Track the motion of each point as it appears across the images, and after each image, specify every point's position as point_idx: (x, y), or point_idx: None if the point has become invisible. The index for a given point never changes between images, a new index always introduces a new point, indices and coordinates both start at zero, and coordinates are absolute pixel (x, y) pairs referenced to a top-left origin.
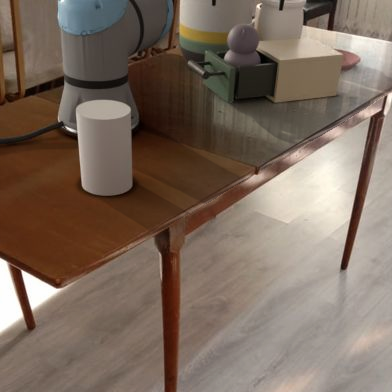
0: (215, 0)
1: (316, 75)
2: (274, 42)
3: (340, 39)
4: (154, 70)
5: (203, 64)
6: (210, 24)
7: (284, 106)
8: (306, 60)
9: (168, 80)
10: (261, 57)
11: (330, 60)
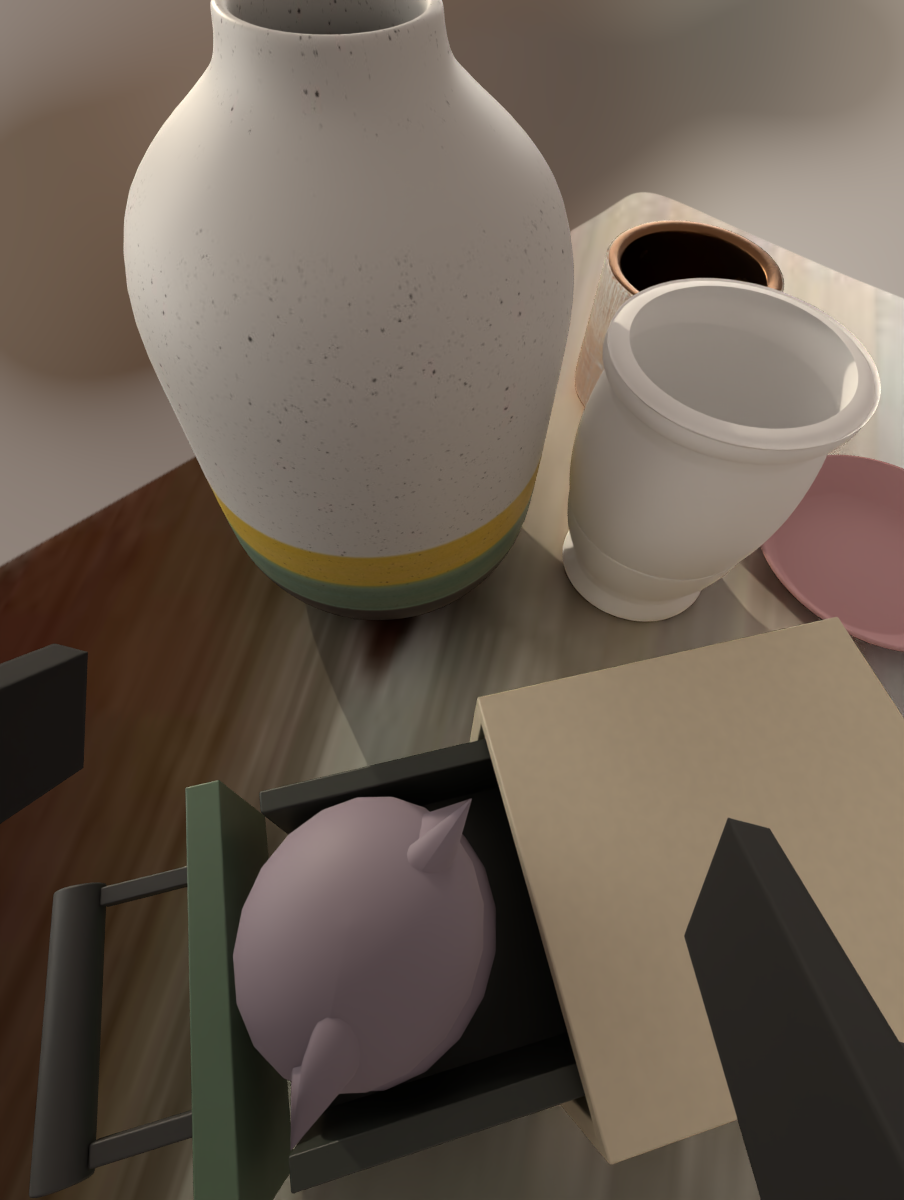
0: (10, 813)
1: None
2: (623, 708)
3: (892, 334)
4: (120, 594)
5: (158, 892)
6: (287, 524)
7: (598, 1169)
8: None
9: (125, 714)
10: None
11: None
